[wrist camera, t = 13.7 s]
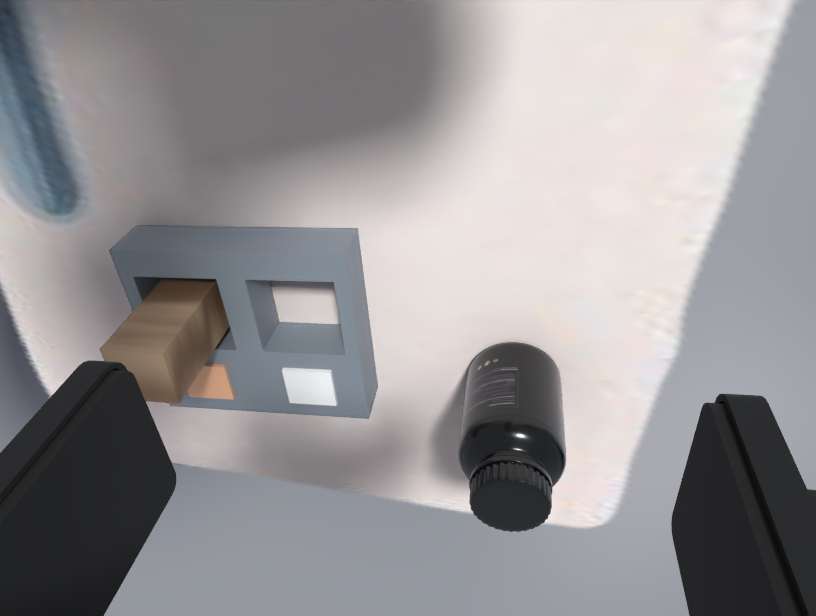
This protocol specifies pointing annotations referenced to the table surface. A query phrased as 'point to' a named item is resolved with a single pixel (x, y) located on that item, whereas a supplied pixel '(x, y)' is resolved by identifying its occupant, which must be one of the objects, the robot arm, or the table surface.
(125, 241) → the socket block
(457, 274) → the table surface
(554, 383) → the supplement bottle
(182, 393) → the plug
